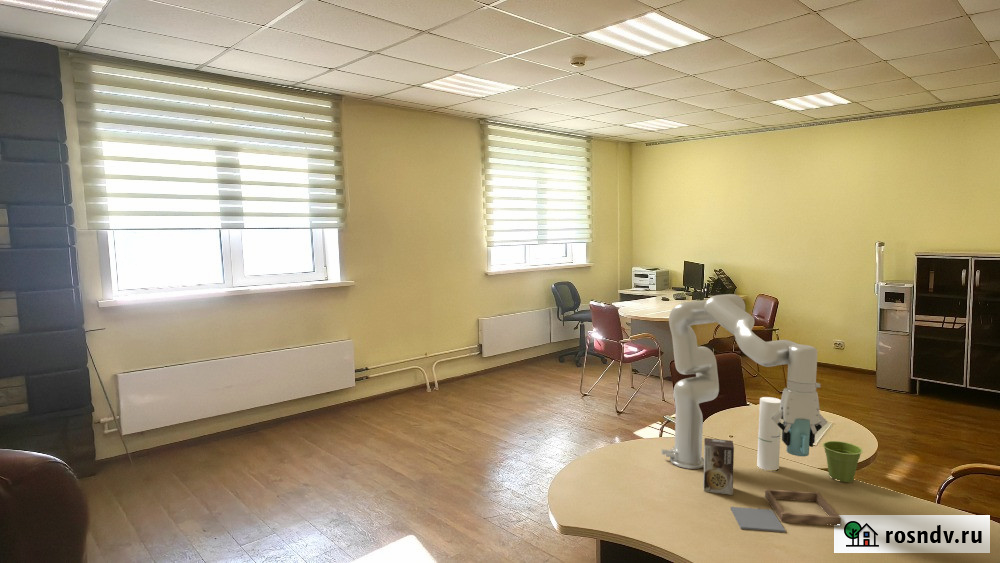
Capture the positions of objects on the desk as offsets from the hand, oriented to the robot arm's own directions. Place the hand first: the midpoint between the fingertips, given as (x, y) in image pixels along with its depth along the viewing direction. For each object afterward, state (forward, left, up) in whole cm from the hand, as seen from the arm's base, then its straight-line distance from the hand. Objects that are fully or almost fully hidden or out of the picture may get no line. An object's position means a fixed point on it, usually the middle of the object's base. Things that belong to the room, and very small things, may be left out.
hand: (797, 444), depth 169 cm
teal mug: (0, -2, -3) cm, 3 cm away
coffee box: (-20, +12, -22) cm, 32 cm away
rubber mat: (-13, -7, -21) cm, 26 cm away
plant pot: (+24, +27, -22) cm, 42 cm away
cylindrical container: (+2, +33, -22) cm, 39 cm away
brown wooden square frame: (+2, +1, -21) cm, 21 cm away
